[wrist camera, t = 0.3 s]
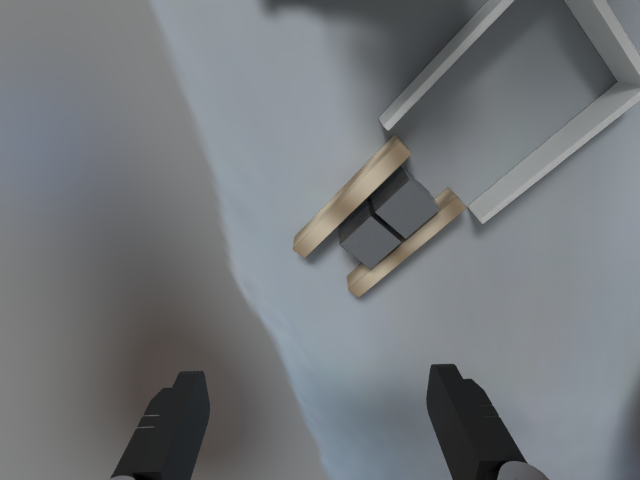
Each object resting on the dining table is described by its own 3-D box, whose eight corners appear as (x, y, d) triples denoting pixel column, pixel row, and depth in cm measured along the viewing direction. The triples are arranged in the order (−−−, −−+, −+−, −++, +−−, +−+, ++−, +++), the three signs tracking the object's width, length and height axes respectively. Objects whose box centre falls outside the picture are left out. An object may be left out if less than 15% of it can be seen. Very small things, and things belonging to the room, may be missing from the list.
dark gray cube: (400, 164, 33) (409, 179, 29) (428, 191, 34) (440, 208, 31) (369, 194, 34) (375, 212, 31) (397, 218, 36) (405, 238, 32)
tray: (540, -56, 25) (565, -67, 22) (628, 81, 29) (658, 85, 26) (378, 118, 31) (383, 125, 28) (471, 210, 35) (483, 224, 32)
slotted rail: (394, 134, 31) (399, 141, 29) (457, 196, 34) (466, 207, 32) (294, 236, 37) (292, 249, 35) (356, 283, 40) (358, 297, 37)
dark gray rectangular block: (366, 197, 35) (370, 216, 31) (394, 222, 36) (401, 242, 32) (338, 224, 36) (339, 245, 33) (366, 247, 37) (370, 268, 34)
